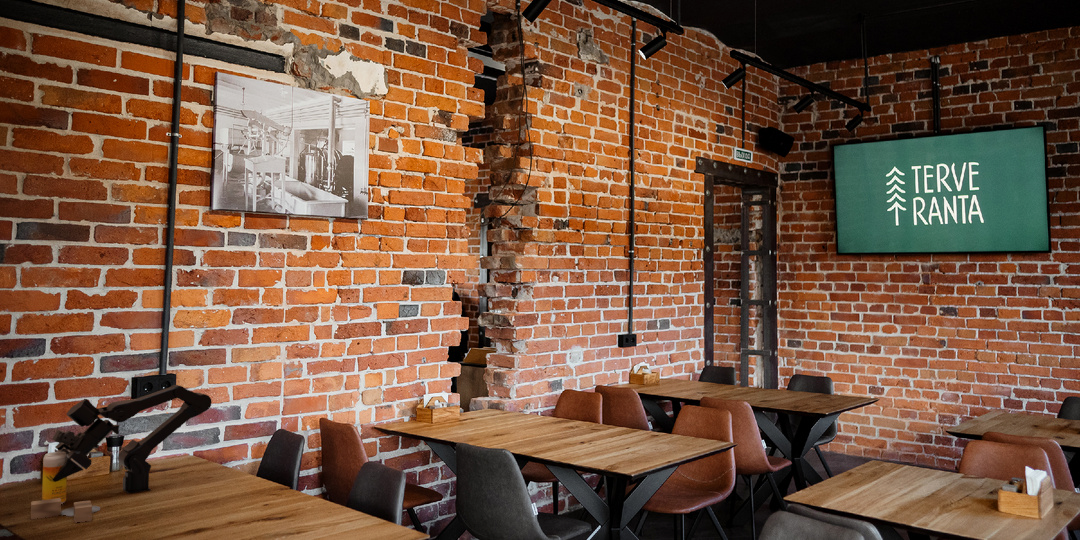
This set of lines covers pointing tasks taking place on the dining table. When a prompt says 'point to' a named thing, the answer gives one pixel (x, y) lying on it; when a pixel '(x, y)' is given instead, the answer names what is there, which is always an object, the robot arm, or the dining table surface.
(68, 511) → the beam vee
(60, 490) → the beer can
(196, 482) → the dining table surface
